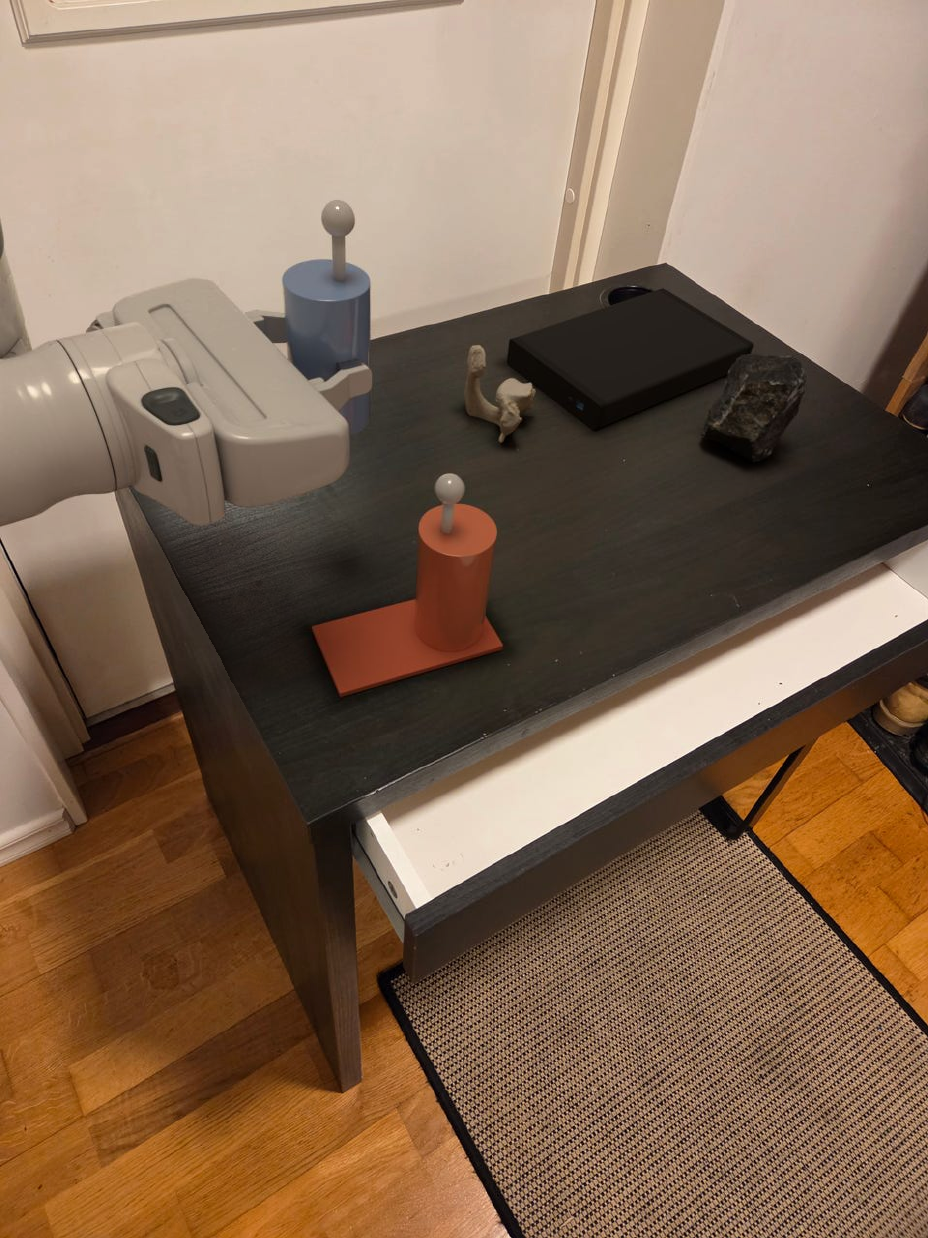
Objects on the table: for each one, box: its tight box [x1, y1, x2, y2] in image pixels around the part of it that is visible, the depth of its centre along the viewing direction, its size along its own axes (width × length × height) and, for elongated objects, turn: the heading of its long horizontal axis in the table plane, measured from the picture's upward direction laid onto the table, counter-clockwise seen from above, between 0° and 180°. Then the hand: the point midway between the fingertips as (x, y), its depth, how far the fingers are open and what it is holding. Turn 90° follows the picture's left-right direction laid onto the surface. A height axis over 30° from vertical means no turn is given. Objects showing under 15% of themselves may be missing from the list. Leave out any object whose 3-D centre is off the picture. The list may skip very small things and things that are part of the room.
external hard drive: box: [506, 287, 755, 431], centre depth 93 cm, size 14×23×3 cm, turn 127°
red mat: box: [311, 598, 504, 698], centre depth 65 cm, size 13×7×1 cm, turn 114°
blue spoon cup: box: [281, 199, 372, 438], centre depth 54 cm, size 5×5×15 cm
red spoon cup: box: [414, 473, 498, 652], centre depth 61 cm, size 5×5×15 cm
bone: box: [463, 344, 537, 444], centre depth 82 cm, size 9×6×10 cm
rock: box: [700, 352, 807, 463], centre depth 82 cm, size 8×7×10 cm
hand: (341, 349), depth 56 cm, fingers closed on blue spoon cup, 5 cm apart
